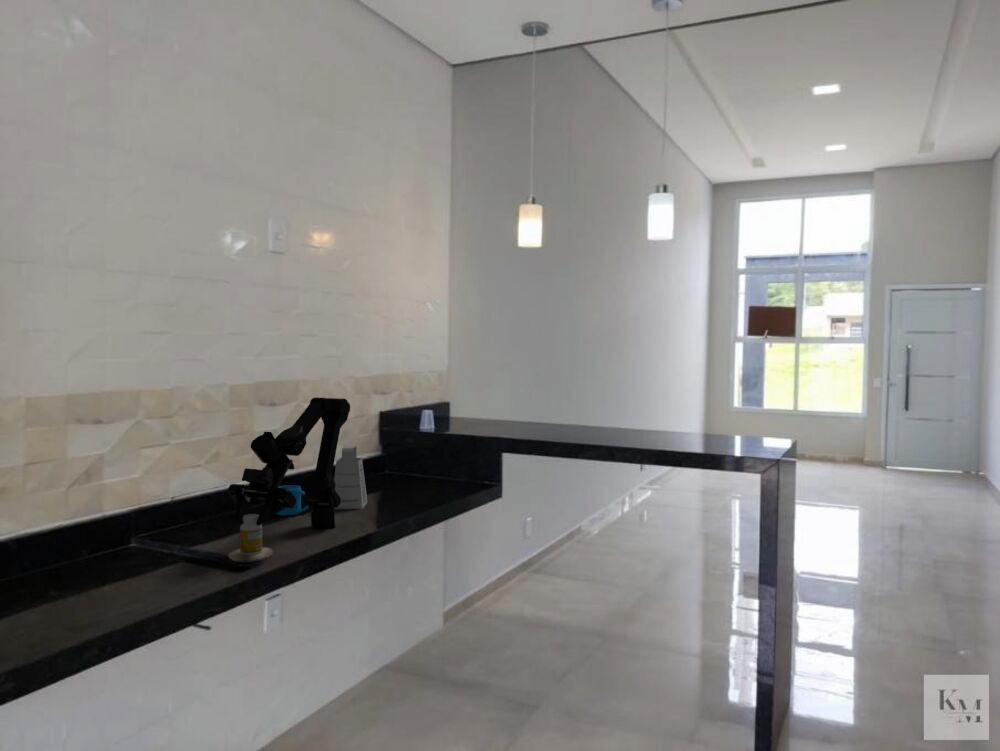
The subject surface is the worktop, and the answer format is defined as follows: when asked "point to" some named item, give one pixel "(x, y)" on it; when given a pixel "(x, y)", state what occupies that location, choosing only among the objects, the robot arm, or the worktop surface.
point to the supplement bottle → (250, 535)
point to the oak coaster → (238, 556)
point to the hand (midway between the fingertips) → (246, 523)
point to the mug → (297, 508)
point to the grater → (350, 480)
